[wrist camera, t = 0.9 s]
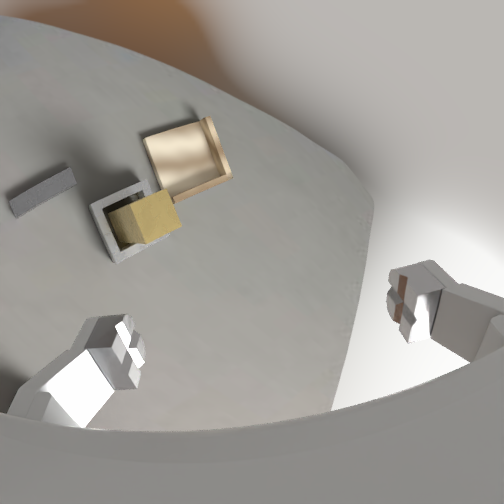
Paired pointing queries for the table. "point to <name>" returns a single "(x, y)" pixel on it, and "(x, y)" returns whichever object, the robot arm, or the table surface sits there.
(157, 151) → the rack plate
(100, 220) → the socket collar
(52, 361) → the robot arm
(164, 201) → the yellow wooden block
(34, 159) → the table surface
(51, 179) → the gray rectangular bar
